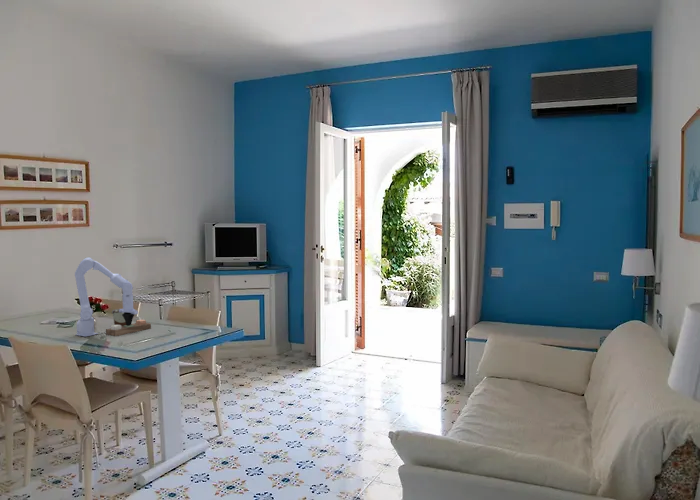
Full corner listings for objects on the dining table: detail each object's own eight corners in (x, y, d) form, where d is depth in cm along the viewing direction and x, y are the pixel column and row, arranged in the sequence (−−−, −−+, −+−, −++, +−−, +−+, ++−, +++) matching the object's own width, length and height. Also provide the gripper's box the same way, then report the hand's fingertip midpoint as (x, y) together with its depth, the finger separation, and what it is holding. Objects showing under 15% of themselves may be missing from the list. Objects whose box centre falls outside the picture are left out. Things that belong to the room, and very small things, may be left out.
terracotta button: (136, 326, 340) (135, 320, 340) (141, 325, 344) (141, 319, 344) (140, 327, 338) (140, 321, 338) (146, 325, 342) (145, 320, 341)
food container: (136, 324, 354) (135, 308, 354) (131, 326, 348) (130, 310, 348) (117, 324, 356) (116, 308, 355) (112, 326, 349) (111, 310, 349)
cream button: (111, 331, 326) (110, 325, 326) (117, 330, 329) (116, 324, 329) (115, 332, 324) (115, 326, 324) (121, 331, 327) (121, 325, 327)
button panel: (106, 334, 326) (105, 329, 326) (141, 326, 346) (141, 322, 346) (115, 336, 321) (115, 330, 321) (151, 328, 342) (150, 323, 341)
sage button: (123, 331, 333) (123, 325, 333) (129, 330, 337) (129, 324, 336) (128, 332, 331) (128, 326, 331) (134, 330, 335) (133, 325, 334)
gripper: (141, 302, 332) (142, 325, 333) (125, 300, 340) (126, 323, 341) (131, 304, 326) (132, 327, 327) (115, 302, 334) (116, 325, 335)
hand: (128, 325), depth 334 cm, fingers closed, pressing on sage button
